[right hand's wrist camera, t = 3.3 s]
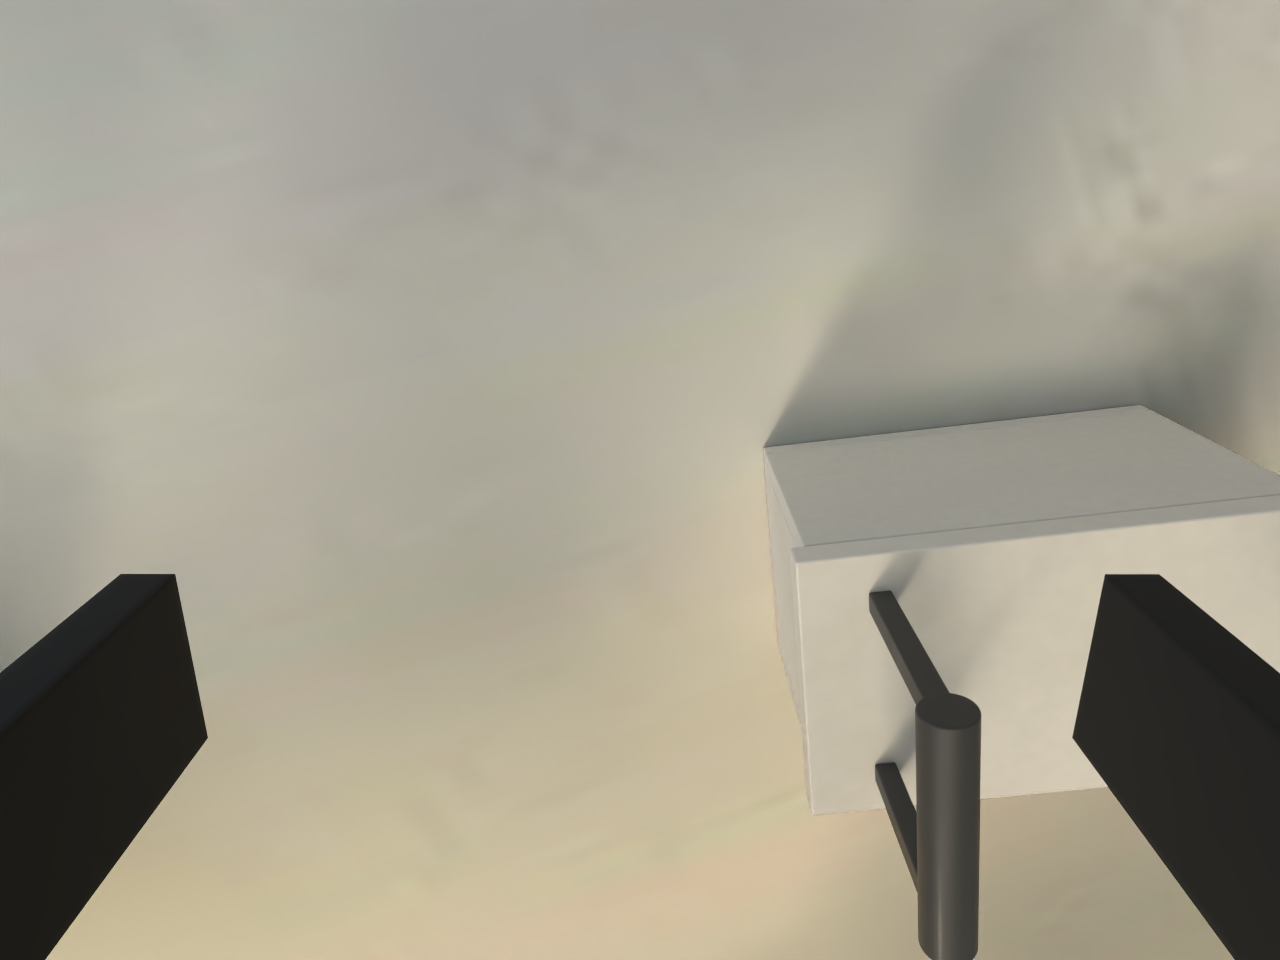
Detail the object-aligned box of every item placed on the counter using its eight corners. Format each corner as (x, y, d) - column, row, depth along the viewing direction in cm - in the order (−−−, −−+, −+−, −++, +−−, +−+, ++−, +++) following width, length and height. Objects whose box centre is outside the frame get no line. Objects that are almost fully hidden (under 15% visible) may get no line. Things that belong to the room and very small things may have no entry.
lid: (806, 794, 31) (861, 1006, 23) (789, 547, 28) (846, 699, 20) (1271, 748, 30) (1485, 951, 23) (1310, 490, 27) (1576, 625, 19)
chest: (777, 646, 40) (818, 792, 31) (762, 447, 37) (803, 544, 28) (1124, 609, 40) (1270, 748, 30) (1141, 404, 36) (1309, 489, 27)
